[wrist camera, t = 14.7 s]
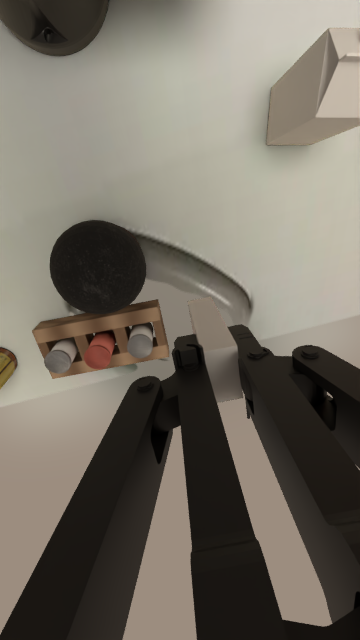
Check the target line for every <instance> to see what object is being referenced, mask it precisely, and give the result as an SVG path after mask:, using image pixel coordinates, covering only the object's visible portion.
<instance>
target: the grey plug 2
mask: <svg viewBox="0 0 360 640" xmlns="http://www.w3.org/2000/svg"><path fill="white" fill-rule="evenodd" d="M152 340H153V327H152V325H151V323H150V322H148V323H142V324H137V325H133V326H132V329H131V334H130V338H129V341H128V344H127V350H128V352H129V353H130V354H131V355H132V356H133V357H136V358H145V357H147V356H148V355H150V353H151V352H152V349H153V343H152Z"/></svg>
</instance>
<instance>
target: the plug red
mask: <svg viewBox="0 0 360 640" xmlns="http://www.w3.org/2000/svg"><path fill="white" fill-rule="evenodd" d="M115 343H116V338H115V334H114V333H113V332H112V331H110V330H106V331H101V332H96V334H95V336H94V337H93V339H92V341H91V343H90V345H89V347H88V349H87V350H86V352H85V354H84V361H85V363H86V364H87V365H88V366H89V367H91V368H93V369H103V368H106V367H107V366H108V365H109V363H110V360H111V355H112V352H113V349H114V346H115Z"/></svg>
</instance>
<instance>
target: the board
mask: <svg viewBox="0 0 360 640" xmlns="http://www.w3.org/2000/svg"><path fill="white" fill-rule="evenodd" d="M148 322H153V327H154V330H155V334H156V337H154V338H153V340H152V343H153V349H152V352H151V353H150V355H148V356H147V357H145V358H136V357H133V356H132V355H131V354H130V353H129V352H128V350H127V344H128V341H129V338H130V334H131V332H130V328H129V326H132V325H137V324H142V323H148ZM111 329H113V331H114V334H115V338H116V341H117V344H118V345H115V346H114V349H113V352H112V355H111V360H110V363H109V365H108V366H107V367H106V368H103V369H107V368H112V367H118V366H123V365H128V364H133V363H138V362H144V361H148V360H154V359H160V358H165V357H169V346H168V342H167V338H166V333H165V329H164V324H163V320H162V315H161V311H160V306H159V302H158V300H152V301H148V302H141V303H136V304H131V305H128V306H127V307H125V308H123V309H122V310H119V311H116V312H113V313H109V314H91V313H84V314H79V315H74V316H69V317H64V318H59V319H53V320H48V321H43V322H40V323H39V324H38V325H37V326H36V327H35V328H34V329H33V330H32V333H33V335H34V337H35V339H36V342H37V344H38V346H39V349H40V351H41V353H42V356H43V358H44V359H45V357H46V355H47V354H48V353H49V352H50V351H51V350H52V348H53V347H54V346H55V344H56V343H57V340H59V339H64V338H70V337H74V339H75V342H76V344H77V347H78V350H79V352H78V353H77V354H76V356H75V358H74V360H73V362H72V363H71V366H70V368H69V370H68V371H66V372H65V373H61V374H57V373H53V372H51V371H49V372H50V374H51V376H52V379H55V378H60V377H65V376H70V375H76V374H81V373H86V372H91V371H97V370H102V369H93V368H91V367H89V366H88V365H87V364H86V363H85V361H84V354H85V352H86V350H87V349H88V347H89V345H90V343H91V341H92V339H93V337H94V335H93V333H96V332H101V331H106V330H111Z"/></svg>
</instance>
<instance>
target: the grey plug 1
mask: <svg viewBox="0 0 360 640" xmlns="http://www.w3.org/2000/svg"><path fill="white" fill-rule="evenodd" d="M78 351H79V350H78V347H77V344H76V342H75V339H74V337H70V338H64V339H59V340H58V342H57V343H56V344H55V346H54V347H53V348H52V350H51V351H50V352H49V353H48V354H47V355H46V357H45V359H44V363H45V366H46V368H47V369H48V370H49V371H51V372H53V373H57V374H61V373H65V372H66V371H68V370H69V368H70V366H71V363H72V362H73V360H74V358H75V356H76V354H77V353H78Z"/></svg>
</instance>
